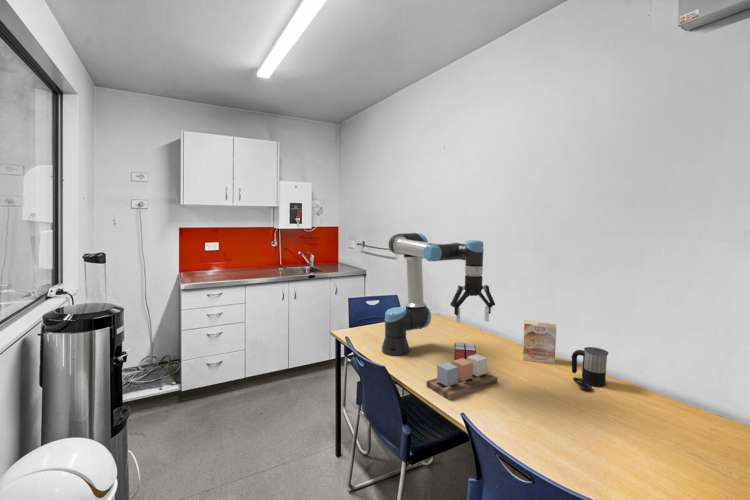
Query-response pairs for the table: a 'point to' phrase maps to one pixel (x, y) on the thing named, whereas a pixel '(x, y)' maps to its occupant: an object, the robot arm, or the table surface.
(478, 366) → the cream block
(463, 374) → the terracotta block
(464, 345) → the puzzle cube
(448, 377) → the slate block
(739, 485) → the table surface
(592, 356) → the milk frother
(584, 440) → the table surface
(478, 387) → the button board
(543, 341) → the coffeecake box
